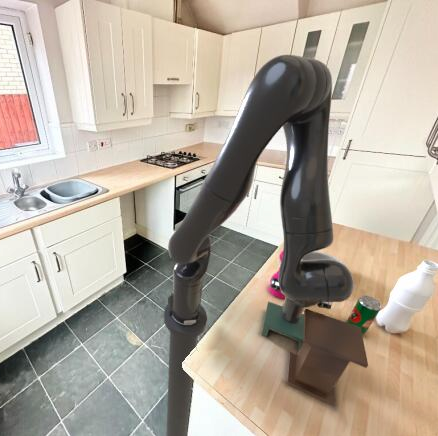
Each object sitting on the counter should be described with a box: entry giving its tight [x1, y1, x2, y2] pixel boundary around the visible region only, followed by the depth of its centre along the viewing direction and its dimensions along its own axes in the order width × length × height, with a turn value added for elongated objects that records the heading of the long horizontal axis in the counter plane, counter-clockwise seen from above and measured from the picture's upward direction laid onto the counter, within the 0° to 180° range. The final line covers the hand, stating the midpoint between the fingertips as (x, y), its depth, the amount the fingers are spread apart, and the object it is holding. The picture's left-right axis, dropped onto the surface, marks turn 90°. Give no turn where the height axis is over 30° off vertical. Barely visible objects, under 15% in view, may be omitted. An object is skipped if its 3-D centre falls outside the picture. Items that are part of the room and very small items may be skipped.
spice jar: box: [280, 297, 305, 324], centre depth 69 cm, size 5×5×11 cm
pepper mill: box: [269, 250, 286, 299], centre depth 84 cm, size 7×7×20 cm
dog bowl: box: [302, 251, 347, 267], centre depth 96 cm, size 17×18×5 cm
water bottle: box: [375, 259, 438, 334], centre depth 70 cm, size 7×7×25 cm
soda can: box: [345, 295, 382, 335], centre depth 72 cm, size 5×5×12 cm
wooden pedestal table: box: [286, 308, 369, 407], centre depth 58 cm, size 11×10×18 cm
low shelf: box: [260, 301, 304, 351], centre depth 74 cm, size 12×10×5 cm
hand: (296, 295), depth 70 cm, fingers closed on spice jar, 5 cm apart
